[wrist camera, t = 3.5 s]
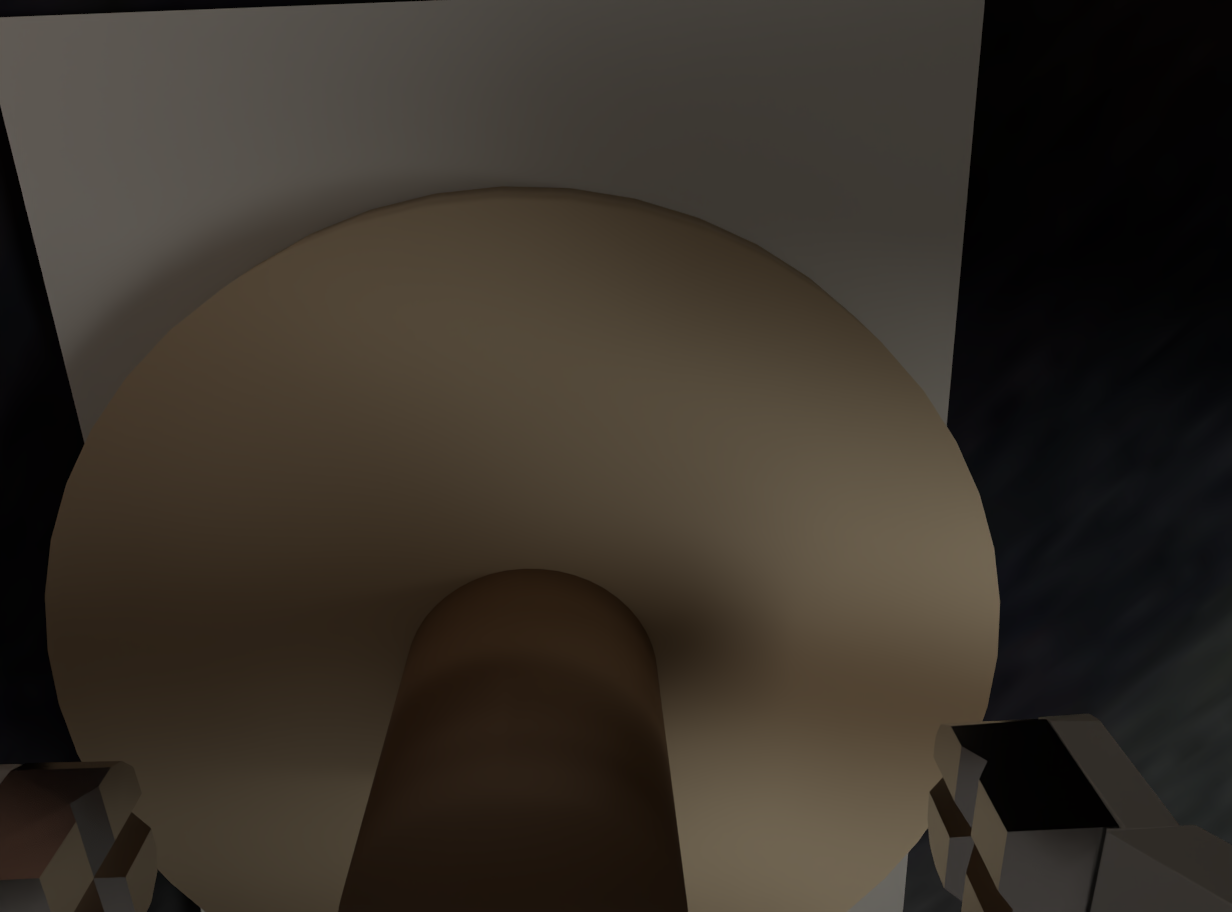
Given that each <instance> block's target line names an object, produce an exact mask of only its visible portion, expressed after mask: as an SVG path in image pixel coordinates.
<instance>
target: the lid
mask: <svg viewBox="0 0 1232 912" xmlns="http://www.w3.org/2000/svg"><path fill="white" fill-rule="evenodd" d="M45 608H46V627H47V646H48V654H49V659H50V664H51V669H52V674H53V678H54V683H55V688H56V693H57V697H58V702H59V706H60V708H61V711H62V714H63V716H64V719H65V722H66V724H67V727H68V730H69V733H70V735H71V738H72V741H73V743H74V746H75V749H76V751H77V754H78V756H79V758H80V760H81V762H97V761H123V762H125V763H127V764H129V765H131V766H133V767H134V770H135V773H136V776H137V780H138V783H139V786H140V789H141V792H142V794H141V796H140V797H139V799H138V801H137V803H136V805H135V806H134V808H133V810H132V813H134V814H135V815H136V816H137V817H138V818H140V819H141V820H142V821H143V822H144V823H145V824H147V825H148V826H149V827H150V828H151V829H152V833H153V837H154V841H155V845H156V853H157V869H158V870H159V871H160V872H161V873H162V874H163V875H164V876H165V877H166V878H167V879H168V881H169V882H170V883H172V884H173V885H174V886H175V887H176V888H178V889H179V890H180V891H181V892H182V893H183V894H185V895H186V896H187V897H188V898H189V899H191V900H192V901H193V902H194V903H195V904H197V905H198V906H199V907H200V908H201V909H203V910H204V911H205V912H847V911H848V910H849V909H851V908H852V907H853V906H854V905H855V904H856V903H857V902H859V901H860V900H861V899H862V898H863V897H864V896H865V895H867V894H868V893H869V892H870V891H871V890H872V889H873V888H875V887H876V886H877V885H878V884H879V883H880V882H881V881H883V880H884V879H885V878H886V877H887V875H888V874H889V873H890V872H891V871H892V870H893V869H894V868H895V867H896V865H897V864H898V863H899V862H900V861H901V860H902V859H903V858H904V857H905V855H906V854H907V853H908V852H909V851H910V850H911V849H912V848H913V847H914V845H915V844H916V843H917V842H918V841H919V839H920V838H921V837H922V835H923V834H924V832H925V831H926V829H927V828H928V820H927V816H928V803H929V792H930V790H931V789H932V788H933V787H934V786H935V785H936V784H937V783H938V782H939V781H940V780H941V779H942V777H943V776H942V774H941V772H940V770H939V768H938V766H937V763H936V761H935V759H934V757H933V754H934V746H935V738H936V734H937V732H938V729H939V727H940V725H941V724H945V723H965V722H982V720H983V718H984V715H985V712H986V709H987V706H988V701H989V696H990V691H991V686H992V681H993V676H994V671H995V666H996V660H997V655H998V634H999V612H1000V599H999V589H998V580H997V571H996V561H995V552H994V546H993V543H992V539H991V535H990V531H989V528H988V524H987V520H986V516H985V513H984V509H983V505H982V501H981V498H980V494H979V492H978V490H977V487H976V485H975V483H974V481H973V478H972V476H971V474H970V472H969V469H968V467H967V465H966V463H965V460H964V458H963V456H962V453H961V451H960V449H959V447H958V444H957V442H956V440H955V439H954V437H953V436H952V434H951V433H950V431H949V429H948V428H947V426H946V425H945V423H944V422H943V420H942V418H941V417H940V415H939V414H938V412H937V411H936V409H935V407H934V406H933V404H932V403H931V401H930V400H929V398H928V397H927V395H926V393H925V392H924V390H923V389H922V388H921V387H920V386H919V385H918V384H917V382H916V381H915V380H914V379H913V378H912V377H911V375H910V374H909V373H908V372H907V371H906V370H905V369H904V367H903V366H902V365H901V364H900V363H899V362H898V361H897V359H896V358H895V357H894V356H893V355H892V354H891V353H890V351H889V350H888V349H887V348H886V347H885V346H884V345H883V343H882V342H881V341H880V340H879V339H877V338H876V337H875V336H874V335H873V334H872V333H871V332H870V331H869V330H868V329H867V328H866V327H865V326H864V325H863V324H862V323H861V322H860V321H859V320H858V319H857V318H856V317H855V316H854V315H852V314H851V313H850V312H849V311H848V310H847V309H845V308H844V307H843V306H842V305H841V304H840V303H838V302H837V301H836V300H835V299H834V298H833V297H831V296H830V295H829V294H828V293H827V292H826V291H824V290H823V289H822V288H821V287H820V286H819V285H817V284H816V283H815V282H814V281H813V280H812V279H810V278H809V277H807V276H806V275H804V274H803V273H801V272H799V271H798V270H796V269H795V268H793V267H792V266H790V265H788V264H787V263H785V262H784V261H782V260H781V259H779V258H778V257H776V256H774V255H773V254H771V253H770V252H768V251H767V250H765V249H763V248H762V247H760V246H759V245H757V244H755V243H753V242H751V241H748V240H746V239H744V238H742V237H740V236H737V235H735V234H733V233H731V232H729V231H726V230H724V229H722V228H720V227H718V226H716V225H713V224H711V223H709V222H707V221H705V220H702V219H700V218H698V217H695V216H691V215H688V214H685V213H681V212H678V211H675V210H671V209H668V208H665V207H661V206H658V205H655V204H652V203H648V202H645V201H642V200H638V199H635V198H628V197H622V196H616V195H610V194H603V193H597V192H591V191H585V190H578V189H572V188H549V187H509V186H500V187H491V188H482V189H473V190H464V191H455V192H445V193H436V194H432V195H428V196H424V197H420V198H416V199H412V200H408V201H404V202H400V203H396V204H392V205H388V206H384V207H380V208H376V209H372V210H369V211H366V212H364V213H361V214H359V215H356V216H354V217H351V218H349V219H346V220H344V221H341V222H339V223H336V224H334V225H332V226H329V227H327V228H324V229H322V230H319V231H317V232H314V233H312V234H309V235H308V236H306V237H304V238H303V239H301V240H299V241H297V242H296V243H294V244H292V245H290V246H289V247H287V248H285V249H284V250H282V251H280V252H278V253H277V254H275V255H273V256H272V257H270V258H268V259H266V260H265V261H263V262H261V263H259V264H258V265H256V266H254V267H253V268H251V269H250V270H249V271H247V272H246V273H244V274H243V275H241V276H240V277H238V278H237V279H235V280H234V281H232V282H231V283H229V284H228V285H227V286H225V287H224V288H222V289H221V290H220V291H218V292H217V293H216V294H215V295H213V296H212V297H211V298H210V299H208V300H207V301H206V302H205V303H203V304H202V305H201V306H200V307H198V308H197V309H196V310H195V311H193V312H192V313H191V314H190V315H188V316H187V317H186V318H185V319H183V320H182V321H181V322H180V323H178V324H177V325H176V326H175V327H173V328H172V329H171V330H170V331H169V332H168V333H167V334H166V335H165V336H164V337H163V338H162V339H161V340H160V341H159V342H158V344H157V345H156V346H155V347H154V348H153V349H152V350H151V351H150V352H149V353H148V354H147V355H146V357H145V358H144V359H143V360H142V361H141V362H140V363H139V364H138V365H137V366H136V367H135V368H134V370H133V371H132V372H131V373H130V374H129V375H128V376H127V377H126V378H125V380H124V381H123V383H122V384H121V386H120V387H119V389H118V390H117V392H116V393H115V395H114V396H113V398H112V399H111V401H110V402H109V404H108V405H107V407H106V408H105V410H104V411H103V413H102V414H101V416H100V417H99V419H98V420H97V422H96V423H95V425H94V426H93V428H92V429H91V431H90V433H89V435H88V438H87V440H86V442H85V444H84V446H83V449H82V451H81V453H80V455H79V457H78V459H77V462H76V464H75V466H74V468H73V470H72V472H71V475H70V477H69V479H68V481H67V483H66V487H65V490H64V494H63V498H62V501H61V505H60V508H59V512H58V516H57V519H56V523H55V527H54V530H53V534H52V538H51V543H50V553H49V562H48V571H47V581H46V590H45Z"/></svg>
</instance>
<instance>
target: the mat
mask: <svg viewBox="0 0 1232 912" xmlns="http://www.w3.org/2000/svg"><path fill="white" fill-rule="evenodd" d="M984 4H985V0H435V1H409V2H383V3H358V4H332V5H306V6H281V7H255V8H229V9H204V10H178V11H153V12H127V13H101V14H76V15H50V16H24V17H0V106H1V110H2V114H3V118H4V122H5V126H6V130H7V134H8V138H9V142H10V146H11V150H12V154H13V158H14V162H15V166H16V170H17V174H18V178H19V182H20V186H21V190H22V194H23V199H24V203H25V207H26V211H27V215H28V219H29V223H30V227H31V231H32V235H33V239H34V243H35V247H36V251H37V255H38V259H39V263H40V267H41V271H42V275H43V279H44V283H45V287H46V291H47V295H48V299H49V303H50V307H51V311H52V315H53V319H54V323H55V327H56V331H57V335H58V339H59V343H60V347H61V351H62V355H63V359H64V363H65V367H66V371H67V375H68V379H69V383H70V387H71V391H72V395H73V399H74V403H75V407H76V411H77V415H78V419H79V423H80V427H81V431H82V435H83V439H84V443H85V442H86V440H87V438H88V435H89V433H90V431H91V429H92V428H93V426H94V425H95V423H96V422H97V420H98V419H99V417H100V416H101V414H102V413H103V411H104V410H105V408H106V407H107V405H108V404H109V402H110V401H111V399H112V398H113V396H114V395H115V393H116V392H117V390H118V389H119V387H120V386H121V384H122V383H123V381H124V380H125V378H126V377H127V376H128V375H129V374H130V373H131V372H132V371H133V370H134V368H135V367H136V366H137V365H138V364H139V363H140V362H141V361H142V360H143V359H144V358H145V357H146V355H147V354H148V353H149V352H150V351H151V350H152V349H153V348H154V347H155V346H156V345H157V344H158V342H159V341H160V340H161V339H162V338H163V337H164V336H165V335H166V334H167V333H168V332H169V331H170V330H171V329H172V328H173V327H175V326H176V325H177V324H178V323H180V322H181V321H182V320H183V319H185V318H186V317H187V316H188V315H190V314H191V313H192V312H193V311H195V310H196V309H197V308H198V307H200V306H201V305H202V304H203V303H205V302H206V301H207V300H208V299H210V298H211V297H212V296H213V295H215V294H216V293H217V292H218V291H220V290H221V289H222V288H224V287H225V286H227V285H228V284H229V283H231V282H232V281H234V280H235V279H237V278H238V277H240V276H241V275H243V274H244V273H246V272H247V271H249V270H250V269H251V268H253V267H254V266H256V265H258V264H259V263H261V262H263V261H265V260H266V259H268V258H270V257H272V256H273V255H275V254H277V253H278V252H280V251H282V250H284V249H285V248H287V247H289V246H290V245H292V244H294V243H296V242H297V241H299V240H301V239H303V238H304V237H306V236H308V235H309V234H312V233H314V232H317V231H319V230H322V229H324V228H327V227H329V226H332V225H334V224H336V223H339V222H341V221H344V220H346V219H349V218H351V217H354V216H356V215H359V214H361V213H364V212H366V211H369V210H372V209H376V208H380V207H384V206H388V205H392V204H396V203H400V202H404V201H408V200H412V199H416V198H420V197H424V196H428V195H432V194H436V193H445V192H455V191H464V190H473V189H482V188H491V187H500V186H509V187H549V188H572V189H578V190H585V191H591V192H597V193H603V194H610V195H616V196H622V197H628V198H635V199H638V200H642V201H645V202H648V203H652V204H655V205H658V206H661V207H665V208H668V209H671V210H675V211H678V212H681V213H685V214H688V215H691V216H695V217H698V218H700V219H702V220H705V221H707V222H709V223H711V224H713V225H716V226H718V227H720V228H722V229H724V230H726V231H729V232H731V233H733V234H735V235H737V236H740V237H742V238H744V239H746V240H748V241H751V242H753V243H755V244H757V245H759V246H760V247H762V248H763V249H765V250H767V251H768V252H770V253H771V254H773V255H774V256H776V257H778V258H779V259H781V260H782V261H784V262H785V263H787V264H788V265H790V266H792V267H793V268H795V269H796V270H798V271H799V272H801V273H803V274H804V275H806V276H807V277H809V278H810V279H812V280H813V281H814V282H815V283H816V284H817V285H819V286H820V287H821V288H822V289H823V290H824V291H826V292H827V293H828V294H829V295H830V296H831V297H833V298H834V299H835V300H836V301H837V302H838V303H840V304H841V305H842V306H843V307H844V308H845V309H847V310H848V311H849V312H850V313H851V314H852V315H854V316H855V317H856V318H857V319H858V320H859V321H860V322H861V323H862V324H863V325H864V326H865V327H866V328H867V329H868V330H869V331H870V332H871V333H872V334H873V335H874V336H875V337H876V338H877V339H879V340H880V341H881V342H882V343H883V345H884V346H885V347H886V348H887V349H888V350H889V351H890V353H891V354H892V355H893V356H894V357H895V358H896V359H897V361H898V362H899V363H900V364H901V365H902V366H903V367H904V369H905V370H906V371H907V372H908V373H909V374H910V375H911V377H912V378H913V379H914V380H915V381H916V382H917V384H918V385H919V386H920V387H921V388H922V389H923V390H924V392H925V393H926V395H927V397H928V398H929V400H930V401H931V403H932V404H933V406H934V407H935V409H936V411H937V412H938V414H939V415H940V417H941V418H942V420H943V422H944V423H945V425H946V426H947V415H948V404H949V393H950V382H951V371H952V359H953V348H954V337H955V326H956V315H957V304H958V293H959V282H960V271H961V260H962V248H963V237H964V226H965V215H966V204H967V193H968V182H969V171H970V160H971V149H972V137H973V126H974V115H975V104H976V93H977V82H978V71H979V60H980V49H981V38H982V26H983V15H984ZM907 859H908V853H907V854H906V855H905V857H904V858H903V859H902V860H901V861H900V862H899V863H898V864H897V865H896V867H895V868H894V869H893V870H892V871H891V872H890V873H889V874H888V875H887V877H886V878H885V879H884V880H883V881H881V882H880V883H879V884H878V885H877V886H876V887H875V888H873V889H872V890H871V891H870V892H869V893H868V894H867V895H865V896H864V897H863V898H862V899H861V900H860V901H859V902H857V903H856V904H855V905H854V906H853V907H852V908H851V909H849V910H848V911H847V912H903V903H904V892H905V881H906V870H907ZM201 912H205V911H204V910H203V909H201Z"/></svg>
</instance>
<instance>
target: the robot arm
mask: <svg viewBox="0 0 1232 912" xmlns="http://www.w3.org/2000/svg"><path fill="white" fill-rule="evenodd" d="M933 757H934V759H935V761H936V763H937V766H938V768H939V770H940V772H941V774H942V776H943V777H942V779H941V780H940V781H939V782H938V783H937V784H936V785H935V786H934V787H933V788H932V789H931V790H930V792H929V803H928V816H927V820H928V830H929V840H930V848H931V851H932V855H933V859H934V863H935V866H936V869H937V872H938V874H939V877H940V879H941V882H942V884H943V887H944V888H945V889H946V890H947V891H949V892H950V893H951V894H953V895H954V896H955V897H957V898H958V899H960V900H961V901H962V909H961V912H1232V845H1231V844H1229V843H1227V842H1225V841H1223V840H1222V839H1220V838H1218V837H1216V836H1214V835H1212V834H1211V833H1209V832H1207V831H1205V830H1203V829H1201V828H1200V827H1198V826H1196V825H1187V826H1180V825H1179V824H1178V823H1177V821H1176V820H1175V819H1174V817H1173V816H1172V815H1171V813H1170V812H1169V811H1168V810H1167V808H1166V807H1165V806H1164V804H1163V803H1162V802H1161V800H1160V799H1159V798H1158V796H1157V795H1156V794H1155V792H1154V791H1153V790H1152V789H1151V787H1150V786H1149V785H1148V783H1147V782H1146V781H1145V779H1144V778H1143V777H1142V775H1141V774H1140V773H1139V771H1138V770H1137V769H1136V768H1135V766H1134V765H1133V764H1132V762H1131V761H1130V760H1129V758H1128V757H1127V756H1126V754H1125V753H1124V752H1123V750H1122V749H1121V748H1120V747H1119V745H1118V744H1117V743H1116V741H1115V740H1114V739H1113V737H1112V736H1111V735H1110V733H1109V732H1108V731H1107V730H1106V728H1105V727H1104V726H1103V724H1102V723H1101V722H1100V720H1099V719H1097V718H1095V717H1094V716H1092V715H1090V714H1076V715H1062V716H1048V717H1039V718H1038V719H1023V720H1004V721H984V722H965V723H945V724H941V725H940V727H939V729H938V732H937V734H936V738H935V746H934V754H933ZM141 794H142V792H141V789H140V786H139V783H138V780H137V776H136V773H135V770H134V767H133V766H131V765H129V764H127V763H125V762H123V761H97V762H54V763H25V764H23V765H21V764H0V912H147V910H148V908H149V906H150V903H151V900H152V895H153V890H154V885H155V880H156V875H157V853H156V845H155V841H154V837H153V833H152V829H151V828H150V827H149V826H148V825H147V824H145V823H144V822H143V821H142V820H141V819H140V818H138V817H137V816H136V815H135V814H134V813H132V810H133V808H134V806H135V805H136V803H137V801H138V799H139V797H140V796H141Z"/></svg>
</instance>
